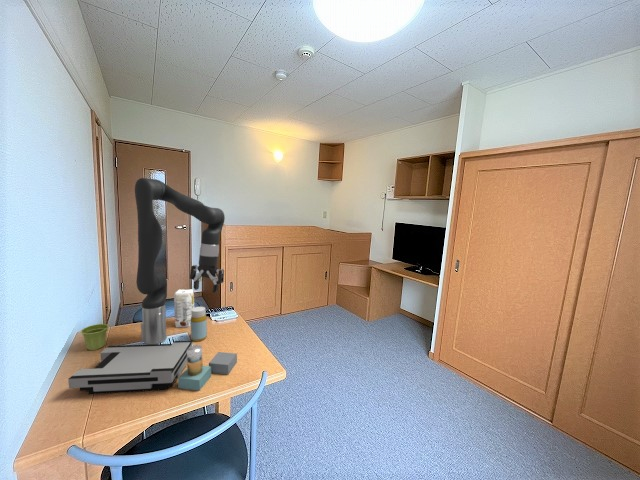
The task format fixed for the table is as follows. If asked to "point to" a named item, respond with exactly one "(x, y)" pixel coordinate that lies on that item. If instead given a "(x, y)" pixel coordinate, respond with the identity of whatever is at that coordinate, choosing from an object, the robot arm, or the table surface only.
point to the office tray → (134, 368)
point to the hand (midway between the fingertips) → (205, 290)
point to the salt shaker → (194, 360)
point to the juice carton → (183, 307)
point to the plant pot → (95, 336)
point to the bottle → (198, 324)
